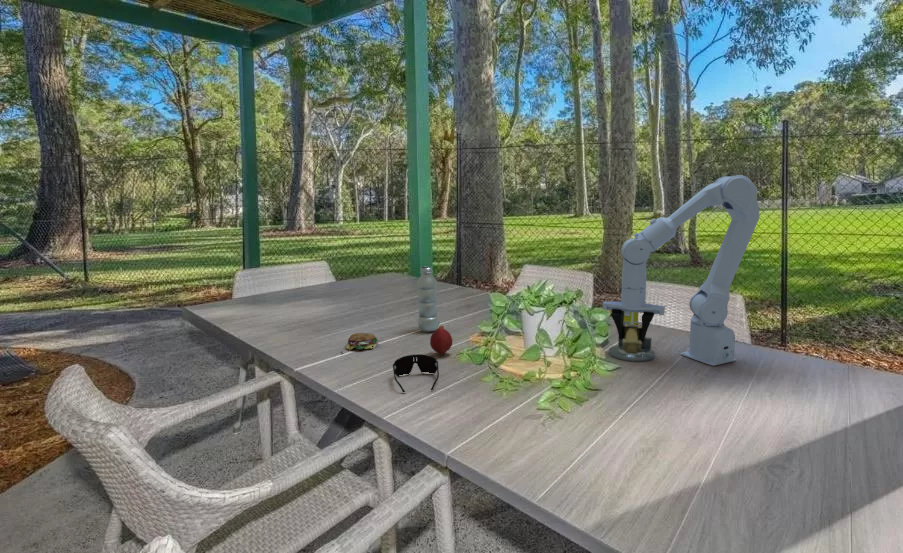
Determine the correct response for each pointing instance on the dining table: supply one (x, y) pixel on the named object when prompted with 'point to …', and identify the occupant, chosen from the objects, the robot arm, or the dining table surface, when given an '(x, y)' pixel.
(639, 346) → the cylinder
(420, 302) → the plastic bottle
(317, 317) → the dining table surface
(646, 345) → the flange seat
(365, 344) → the hamburger
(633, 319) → the supplement bottle
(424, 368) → the sunglasses
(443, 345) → the onion
